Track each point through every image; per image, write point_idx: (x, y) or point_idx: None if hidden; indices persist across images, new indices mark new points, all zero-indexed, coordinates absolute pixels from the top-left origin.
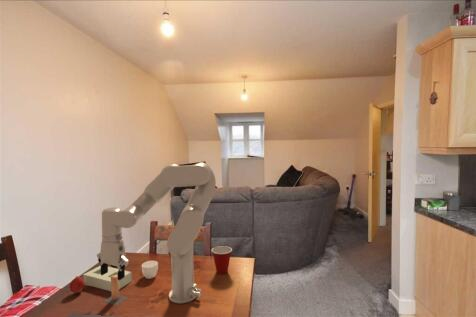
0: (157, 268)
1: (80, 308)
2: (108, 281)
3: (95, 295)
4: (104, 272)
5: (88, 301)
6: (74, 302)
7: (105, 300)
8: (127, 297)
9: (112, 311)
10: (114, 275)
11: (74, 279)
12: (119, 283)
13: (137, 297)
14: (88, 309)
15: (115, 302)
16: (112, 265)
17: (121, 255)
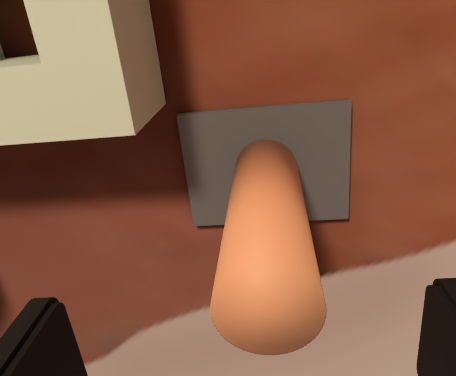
0: None
1: (128, 316)
2: (45, 140)
3: (56, 193)
4: (66, 373)
5: (93, 257)
6: (26, 296)
7: (205, 215)
8: (350, 108)
9: (362, 262)
10: (229, 291)
11: None
12: (135, 46)
13: (434, 49)
14: (185, 305)
15: (304, 199)
16: None
17: None
